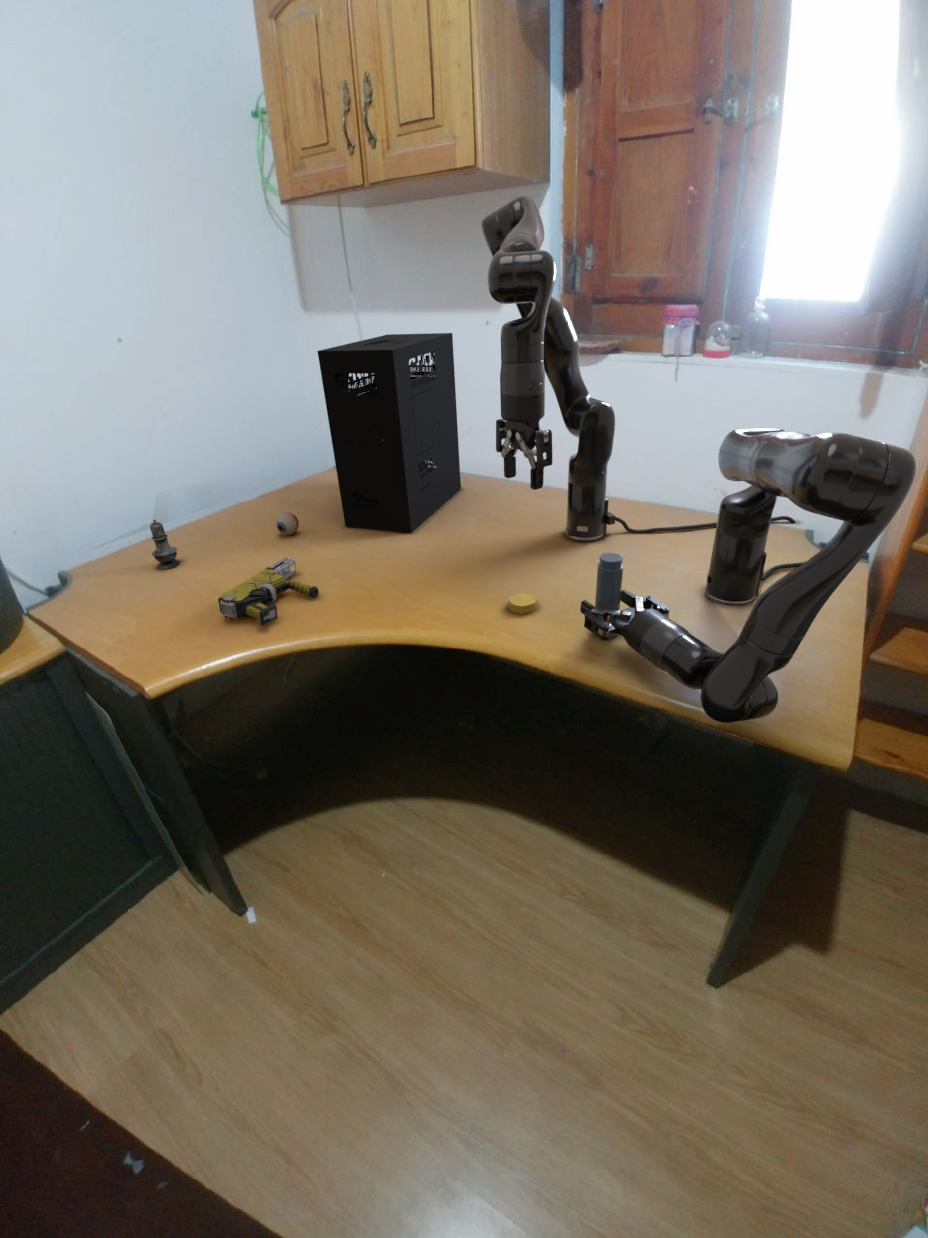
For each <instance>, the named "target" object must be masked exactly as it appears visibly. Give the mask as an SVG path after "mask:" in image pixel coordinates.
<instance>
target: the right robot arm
mask: <svg viewBox="0 0 928 1238" xmlns="http://www.w3.org/2000/svg"><path fill="white" fill-rule="evenodd" d="M717 462H718V468H719V472H720V474H721V476H723V478H724V479H726V480H727V481H731V482H745V483H747V484H749V485H750V486H748V487H747V488H744V489H741V490H740V491H737V492H734V493H731V494H728V495H726V496H725V497H723V498H722V499H721V501H720V504H719V507H718V508H719V509H718V515H717V519H716V520H717V521H716V522H717V526H715V534H714V539H713V544H712V551H711V556H710V562H709V563H710V564H709V568H708V571H707V572H706V586H705V588H704V594H705V596H706V597H707V598H708V599H709V600H711V601H713V602H714V603H717V604H720V605H724V606H730V607H731V606H732V607H740V606H741V607H742V606H746V605H747V606H748V605H750V604H752V603H753V602H754V601H755V598H756V597H758V596H759V592H760V587H761V583H762V582H763V581H766V580H767V579H768V578H769V577H770V575H772V574H773V573H775V572H777V571H779V570H784V569H785V570H786V569H792V570H791V571H789V572H788V573H786V574H785V575H783V576H782V577H781V578H779V579H778V580H776V581H775V582H773V583H772V584H771V585H770V586H768V588H766V590H764V592H762V593H761V594H760V596H759V597H758V598H757V600H756V601H755V603H754V605H753V607H752V608H751V611H750V613H749V614H748V617H747V619H746V620H745V623H744V624H743V627H742V629H741V630H740V632H739V634H738V636H737V638H736V640H735V641H734V642H733V643H732V644H731V645H730V646H729V647H728V649H726V651H725V652H724V653H723V652H720V651H718V650H715V649H713V648H712V647H710V646H709V645H708V644H706V643H705V642H704V641H702V640H701V639H699V638H697V637H696V636H694V635H693V634H692V633H690V632H689V631H688V630H687V629H686V628H684V627H683V626H682V625H681V624H678V623H677V622H676V621H674V620H672V619H671V618H670V616H669V615H670V609H671V608H670V607H669V606H667V605H666V604H664V603H662V602H661V601H660V600H659V599H657V598H655V597H654V596H653V595H650V594H649V595H646V596H645V597H642V596H640V595H638V596H637V595H635V594H634V593H632V592H631V591H628V590H626V589H621V599H620V602H622V603H623V604H625V605H626V606H627V607H626V608H624V609H620V610H618V611H617V610H612V609H606V610H605V611H604V610H599V609H596V607H595V605H593V603H590V602H589V601H588V600H586V599H584V600H581V602H580V609H579V610H580V614H582V615H584V616H583V617H584V623H583V627H584V628H585V629H586V630H588V631H589V632H591V633H592V634H593V635H594V636H595V637H597V636H598V638H599V639H600V640H601V641H608V640H609V639H610V638H609V635H611V634H614V633H615V634H617V635H616V636H620V637H622V638H623V639H624V641H625V642H626V644H627V645H628V646H629V647H630V648H631V649H632V650H634V651H635V652H636V653H637V654H639V656H641V657H643V658H644V659H645V660H647V661H648V662H649V663H650V664H652V665H653V666H655V667H656V668H658V669H660V670H662V671H664V672H665V673H666V674H668V675H669V676H670V677H672V678H673V679H674V680H676V682H679V684H681V685H683V686H684V687H686V688H689V689H691V690H697V691H700V695H699V697H700V703H701V708H702V710H703V711H704V713H705V714H706V716H708V718H709V719H712V720H713V721H714V722H718V723H723V724H732V723H738V722H744V721H752V720H757V719H758V720H759V719H762V718H766V717H767V716H770V714H771V713H773V712H774V711H775V710H776V708H777V705H778V703H779V693H778V689H777V686H776V684H775V683H774V681H773V680H772V679H771V678H770V677H769V676H770V675H771V674H773V673H776V672H779V671H781V670H783V669H784V668H785V667H786V666H787V665H789V663H790V662H791V660H792V659H793V657H794V655H795V654H796V652H797V650H798V649H799V648H800V645H801V643H802V642H803V640H804V638H805V636H806V635H807V633H808V631H809V629H810V627H811V626H812V624H813V622H814V621H815V620H816V618H817V616H818V614H819V613H820V611H821V609H823V607H824V606H825V604H826V603H827V602H828V600H829V599H830V598H831V596H832V595H833V594H834V592H835V591H836V590H837V589H838V587H839V586H840V585H841V584H842V583H843V581H845V579H846V578H847V577H848V575H849V574H850V573H851V572H852V571H853V569H854V568H855V567H856V566H857V565H858V563H859V562H860V561H861V559H862V558H863V557H864V556H865V554H866V553H867V552H868V550H869V549H870V548H871V546H872V545H874V543H875V541H876V540H877V539H878V538H879V537H880V536H881V534H882V533H883V531H884V530H885V529H886V528H887V526H888V525H889V524H890V523H891V521H892V520H893V519H894V517H895V516H896V515H897V513H898V512H899V510H900V509H901V507H902V506H903V504H904V502H905V501H906V499H907V497H908V495H909V494H910V492H911V489H912V486H913V484H914V482H915V478H916V474H917V460H916V458H915V456H914V454H913V453H912V452H911V451H910V450H908V449H906V448H904V447H900V446H896V445H893V444H889V443H885V442H881V441H877V440H875V439H870V438H865V437H862V436H858V435H854V434H849V433H845V432H824V433H819V434H814V435H811V434H809V433H806V432H801V431H792V430H791V431H789V430H785V429H783V428H778V427H777V428H775V427H774V428H770V427H767V428H737V429H734V430H731V431H729V432H728V433H727V434H726V435H725V437H724V438H723V440H722V441H721V443H720V446H719V449H718V455H717ZM778 497H779V498H787V499H788V500H789V501H790V502H791V503H793V504H794V505H795V506H796V507H798V508H800V509H801V510H804V511H807V512H809V513H812V514H815V515H819V516H823V517H826V518H827V517H828V518H832V519H834V520H838V521H841V522H842V523H841V526H840V527H839V529H838V530H837V531H836V533H835V534H834V536H833V537H832V538H831V540H829V541H828V542H827V544H826V545H824V547H822V548H821V549H820V550H819V551H818V552H817V553H815V554H814V555H813V556H811V557H810V558H809V559H808V560H806V561H802V562H793V563H783V564H778V565H775V566H773V567H770V568H769V569H768V570H767V571H766V572H765V573H764V570H765V565H766V561H767V552H766V551H765V549H766V545H767V540H768V537H769V536H768V535H769V530H770V526H771V522H772V521H771V518H773V512H774V509H775V507H776V503H777V499H778ZM598 615H600V616H603V620H600V619H598ZM610 615H611V616H613V624H610V622H609V617H610Z"/></svg>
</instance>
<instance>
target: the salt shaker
mask: <svg viewBox="0 0 928 1238" xmlns="http://www.w3.org/2000/svg"><path fill="white" fill-rule="evenodd" d="M149 529H150V532H151V536H152V537H151V540H152V541H153V542H154V546H155V550H153V551H152V552H151V556H152V557H153V559H155V561H157V562H158V564H157V567H156V568H158V569H160V570H167V569H168V570H169V569H172V568H175V567H177V566H178V565H180V563H181V562H180V560H179V559H176V557H177V556H178V554H177V553H178V552H177V551H178V548H177V547H175V546H171V544H170V543H169V540H168V534H166V531H165V528H164V525H163V523H161V522H158V521H157V520H156V519H153V520H152V523H150V525H149Z"/></svg>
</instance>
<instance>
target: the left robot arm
mask: <svg viewBox="0 0 928 1238" xmlns="http://www.w3.org/2000/svg"><path fill="white" fill-rule="evenodd" d="M480 230H481V234H482V238H483V240H484V242H485V245H486V247H487V250H488V252H489V253H490V255H491V257H492V258H491V260H490V263H489V264H488V265H489V266H488V270H487V275H486V276H487V277H486V280H487V288H488V292H489V294H490V296H491V298H492V299H493V300H494V301H495V302H497V303H498V304H501V305H514V304H515V306H516V309H517V311H518V313H519V315H520V318H516V319H512V320H509V321H507V322H505V323H504V324H502V326H501V328H500V361H501V362H500V373H499V388H500V391H499V394H500V395H499V397H500V417H501V418H500V419H499V418H498V419H496V421H495V450H496V453H500V455H501V457H502V459H503V476H504V478H506V479H512V478H515V477H516V476H517V456H516V454H517V453H518V451H520V452H522V454H523V456H524V457H525V458H526V459H528V463H529V466H530V469H529V470H530V472H529V473H530V477H529V479H530V482H529V483H530V485H529V486H530V489H531V490H534V491H536V490H540V489H542V488H543V487H544V476H545V475H544V473H545V472H544V471H545V470H544V469H545V468H546V467H551V466H552V465H553V431H552V430H551V429H541V427H540V421H541V420H542V419H543V418H544V417H545V415H546V413H545V410H546V409H545V408H546V407H545V405H546V402H545V401H546V397H545V396H546V377H547V379H548V381H549V383H550V386H551V388H552V390H553V392H554V395H555V397H556V401H557V405H558V408H559V411H560V414H561V417H562V421H563V423H564V426H565V428H566V429H567V431H568V432H569V434H571V435H572V436H573V437H576V438H578V445H577V452H576V453H574V454H572V455H570V456H569V459H568V468H567V469H568V473H567V501H566V502H567V503H566V527H565V536H566V537H567V538H568V539H570V540H572V541H576V542H583V543H584V542H586V543H587V542H594V541H599V540H600V539H602V538H604V536H607V530H608V529H607V528H608V527H607V526H612V525H615V524H616V522H618V523H620V524H621V525H622V526H623V529H624V530H625V531H627V532H629V533H631V534H650V533H657V532H673V531H674V532H675V531H685V530H686V531H687V530H697V529H704V528H712V527H713V528H714V527H716V526H717V521H716V522H707V523H700V524H699V523H698V524H691V525H679V526H678V525H677V526H664V527H651V528H645V529H633V528H631V527H629V526H628V524H627V522H626V521H625V520H623V519H622V518H620V517H619V516H616V515H615V514H613V513H612V512H610V511H609V498H607V497H606V493H607V477H608V465H609V461H610V460H611V458H612V454H613V448H614V439H615V430H616V414H615V411H614V409H613V407H612V405H611V404H609V403H608V402H606V401H604V400H600V399H597V398H594V397H592V395H591V394H590V391H589V390H588V388H587V386H586V384H585V381H584V379H583V376H582V373H581V368H580V342H579V338H578V337H579V336H578V334H577V331H576V329H575V326H574V324H573V321H572V318H571V315H570V313H569V311H568V309H567V308H566V307H565V306H564V305H563V304H562V303H561V302H560V301H558V300H557V299H556V298H554V297H553V296H552V295H553V293H554V292H553V291H554V288H555V284H556V279H557V264H556V260H555V259H554V257H553V255H552V254H551V253H550V252H549V251H547V250H545V249H544V250H543V249H541V248H542V246H543V243H544V241H545V227H544V224H543V220H542V217H541V215H540V212H539V209H538V207H537V205H536V204H535V202H534V200H533V199H532V198H531V197H530V196H528V195H526V194H522V195H519V196H516V197H514V198H512V199H511V200H510V201H508V202H505V204H503V205H502V206H500V207H498V208H497V209H495V210H493V211H492V212H490V213H489V214H487V215H486V216H484V217H483V218H482V219H481V222H480ZM502 440H504V441H502ZM502 443H503V444H502ZM544 454H545V455H544ZM535 457H536V459H535ZM777 521H788V522H789V523H791V524H796V521H795V519H794V518H792V517H790V516H788V515H780V516H774V517H773V516H772V517H771V522H777Z"/></svg>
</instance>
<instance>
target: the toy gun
mask: <svg viewBox="0 0 928 1238" xmlns="http://www.w3.org/2000/svg"><path fill="white" fill-rule="evenodd" d="M296 563H297V562H296V560H295V559H294V558H288V557H283V558H282V559H281V560H278V561H277V562H276V563H273V564H272V565H271V566H270V567H269V566H266V567H265V568H264V569H263V570H261V571H259V572H258V573H255V575H253V576H251V577H250V578H248V579H246V580H245V581H243V582H241V583H240V584H238V585H236V586H234V587H233V588H232V589H230V590H228V591H227V592H225V593H224V594H222V595H220V596H219V597H217V603H218V609H219V612H220V614H221V615H222V616H224V619H226V620H227V619H229V620H230V621H231V620H233V619H235V620H241V619H246V618H249V617H253V618H255V619H257V620H258V621H260V626H262V627H265V626H266V625H268V624H270V623H272V622H274V621H275V620H277V619H278V618H279V617H278V608H277V605H276V604H275V602H276V601H277V596H278V595H280V594H282V593H285V592H286V591H288V590H292V591H294V592H297V593H299V594H303V595H305V596H308V597H310V598H311V599H314V598H316V597H318V596H319V595H320V590H319V588H318V586H316V585H315V586H314V585H310V584H308V583H307V584H306V583H305V582H302V581H298V580H297V579H291V580H290V581H289V582H288V581H287V579H288V578H289V579H290V577H292V576H293V575H295V574H296V573H297V566H296V565H297V564H296ZM293 566H294V570H292V569H291V568H292V567H293Z"/></svg>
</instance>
